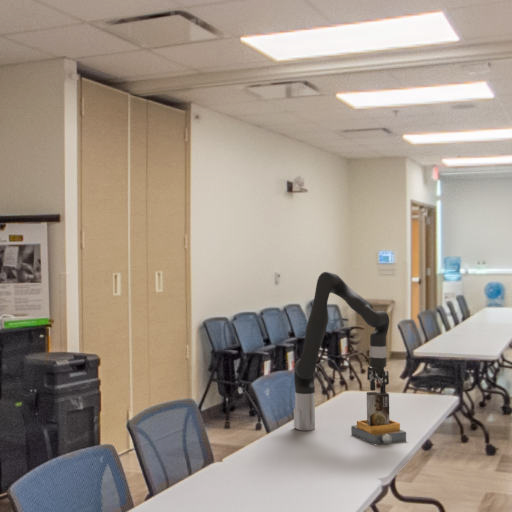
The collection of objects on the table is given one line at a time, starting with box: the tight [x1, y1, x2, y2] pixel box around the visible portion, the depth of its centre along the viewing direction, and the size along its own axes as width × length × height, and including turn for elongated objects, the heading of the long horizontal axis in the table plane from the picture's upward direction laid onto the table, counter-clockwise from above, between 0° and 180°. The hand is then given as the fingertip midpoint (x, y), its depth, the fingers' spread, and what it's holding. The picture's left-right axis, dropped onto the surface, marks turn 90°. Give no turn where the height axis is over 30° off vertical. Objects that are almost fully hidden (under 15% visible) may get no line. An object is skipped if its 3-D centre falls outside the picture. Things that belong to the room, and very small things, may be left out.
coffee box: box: [366, 391, 391, 426], centre depth 332 cm, size 9×6×16 cm
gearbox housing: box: [350, 419, 407, 445], centre depth 331 cm, size 16×22×7 cm
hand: (377, 392), depth 332 cm, fingers open, 8 cm apart
